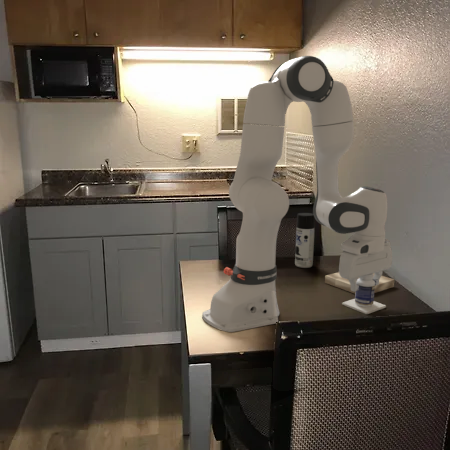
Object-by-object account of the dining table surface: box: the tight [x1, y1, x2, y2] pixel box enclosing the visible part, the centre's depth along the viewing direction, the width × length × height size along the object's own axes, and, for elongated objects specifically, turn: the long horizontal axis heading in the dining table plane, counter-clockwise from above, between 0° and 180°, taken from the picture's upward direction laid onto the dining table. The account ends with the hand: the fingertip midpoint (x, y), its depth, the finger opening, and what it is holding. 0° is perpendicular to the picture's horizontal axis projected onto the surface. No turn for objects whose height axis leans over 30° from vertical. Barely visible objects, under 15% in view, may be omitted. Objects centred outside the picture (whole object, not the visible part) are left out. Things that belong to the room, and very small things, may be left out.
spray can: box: [294, 212, 316, 269], centre depth 178 cm, size 7×7×20 cm
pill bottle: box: [354, 273, 375, 307], centre depth 140 cm, size 5×5×10 cm
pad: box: [341, 298, 387, 315], centre depth 141 cm, size 9×9×1 cm
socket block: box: [324, 271, 395, 295], centre depth 159 cm, size 16×16×2 cm
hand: (364, 287), depth 140 cm, fingers open, 8 cm apart
